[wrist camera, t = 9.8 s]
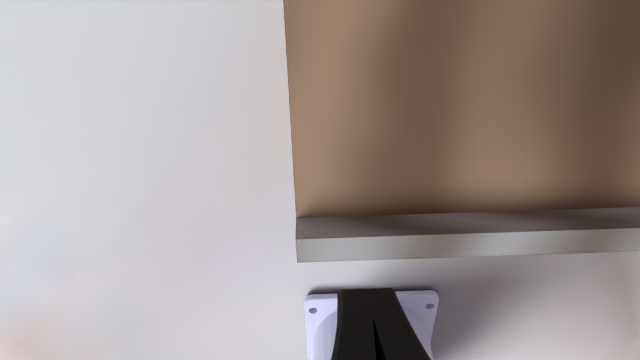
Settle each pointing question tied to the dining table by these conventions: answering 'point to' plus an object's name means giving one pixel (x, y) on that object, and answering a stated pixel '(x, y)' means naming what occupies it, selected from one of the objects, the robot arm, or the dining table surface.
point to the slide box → (464, 127)
